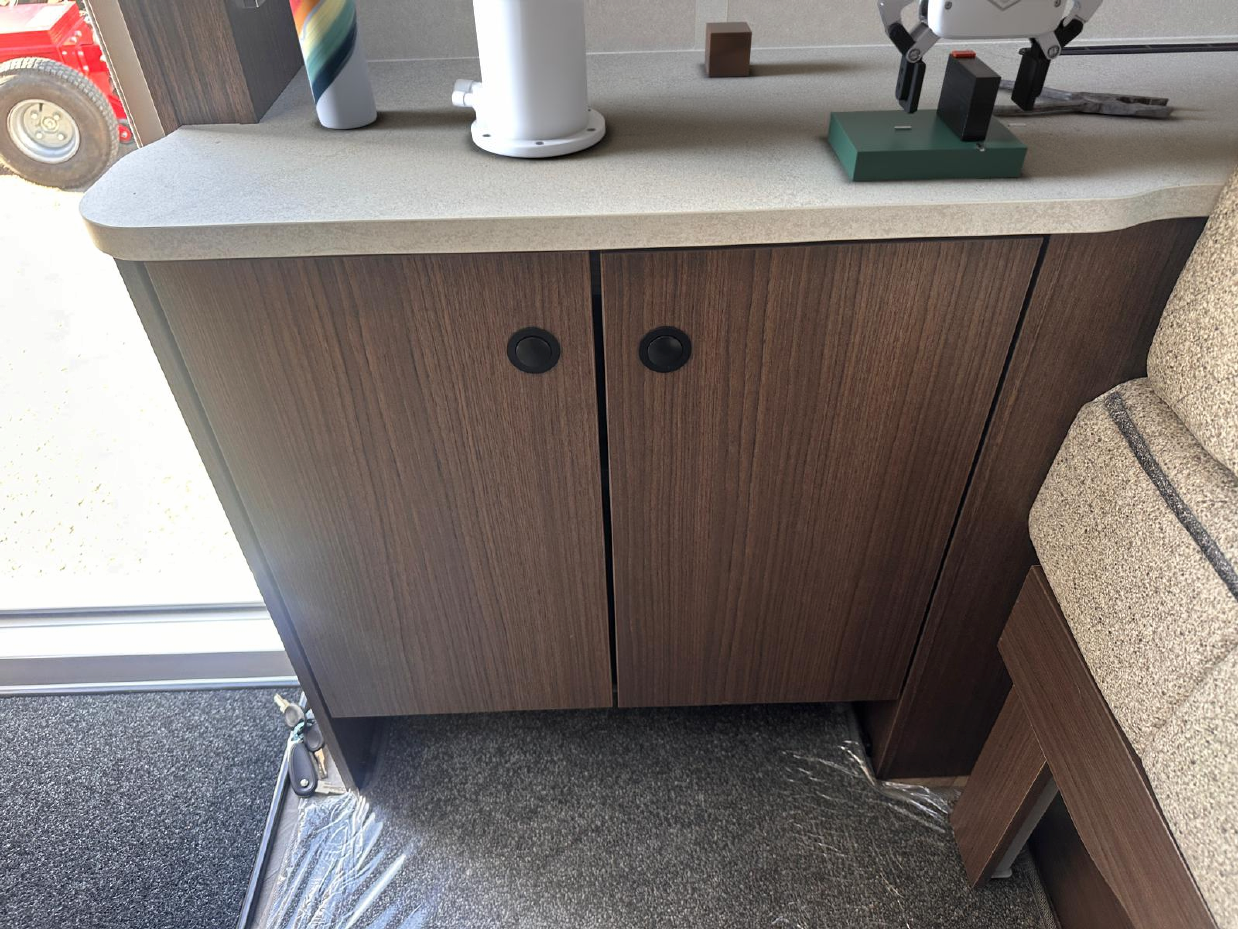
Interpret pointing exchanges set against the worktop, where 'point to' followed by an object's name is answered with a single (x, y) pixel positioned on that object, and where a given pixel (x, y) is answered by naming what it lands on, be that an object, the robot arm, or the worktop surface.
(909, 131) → the green base
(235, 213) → the worktop surface
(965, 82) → the block
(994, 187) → the worktop surface
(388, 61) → the worktop surface
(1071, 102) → the pliers
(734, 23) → the block
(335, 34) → the lotion bottle
